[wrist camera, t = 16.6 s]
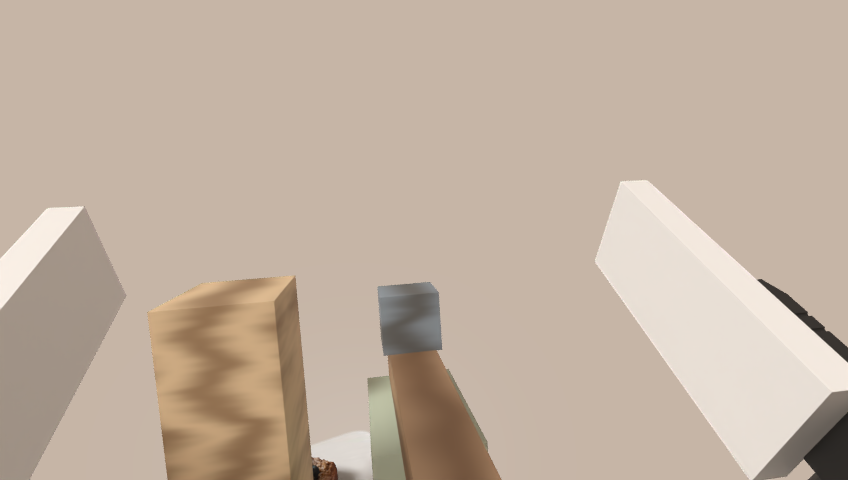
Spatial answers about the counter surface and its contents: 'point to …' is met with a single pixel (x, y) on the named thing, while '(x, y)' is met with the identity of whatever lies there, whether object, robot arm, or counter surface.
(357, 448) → the counter surface
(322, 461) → the pastry
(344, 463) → the counter surface
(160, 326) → the oak stand
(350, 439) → the counter surface
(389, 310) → the beam
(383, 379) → the sage green upright block
